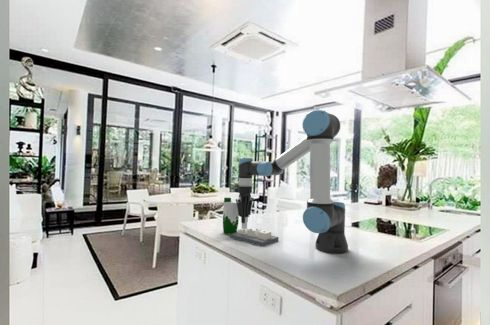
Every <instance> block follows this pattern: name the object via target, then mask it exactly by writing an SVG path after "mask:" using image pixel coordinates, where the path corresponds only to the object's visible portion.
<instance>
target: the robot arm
mask: <svg viewBox="0 0 490 325" xmlns="http://www.w3.org/2000/svg"><path fill="white" fill-rule="evenodd" d="M301 126H302V130H303V131H304V133H306V135H305V137H303V138H302V139H300V140H299V141H298V142H296V143H295V144H293V145H292V146H291V147H290V148H288V149H287V150H286V151H284V152H283V153H281V154H280V155H279V156H277V157H276V158H274V159H273V160H272V161H266V160H265V161H264V160H262V161H257V160H256V161H255V160H254V161H253V157H240V158H239V159H238V165H237V166H238V188H237V192H238V193H239V195H238V198H236V199H235V201H236V203H237V208H238V215H239V217H240V218H241V220H240V222H241V229H248V220H249V217H250V216H251V214H252V213H251V212H252V207H253V202H254V197H252V196H251V194H252V192H253V187H252V185H253V176H258V177H259V176H262V177H268V176H279V175H281V174H283V172H284V171H285V169H286V168H288V167H290V166H291V165H293V164H294V163H295V162H297V161H298V160H300V159H301V158H303V157H304V156H305V155H307V154H309V155H310V156H309V158H310V161H309V162H310V163H309V164H310V165H309V166H310V167H309V168H310V169H309V170H310V172H309V173H310V175H309V176H310V177H309V178H310V179H309V180H310V181H309V183H310V184H309V186H310V187H309V188H310V190H309V191H310V196H309V197H310V198H308V199H307V201H306V209H305V210H304V211H303V214H302V222H303V224H304V226H305V228H307V229H308V231H309V232H312V233H313V234H317V238H316V240H315V248H316V249H317V250H319V251H321V252H325V253H329V254H345V253H348V252H349V244H348V242H347V238H346V232H345V229H346V228H345V226H346V225H345V224H346V222H345V221H346V204H345V203H344V202H341V201H334V200H333V199H332V198H331V143H332V142H334V138H335V137H337V136H338V134H339V132H340V130H341V121H340V119H339V118H338V117H337V116H336V115H334V114H332V113H330V112H327V111H325V110H322V109H312V110H310V111H309V112H308V113H307V114H306V115H305V116H304V118H303V120H302V125H301Z"/></svg>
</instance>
